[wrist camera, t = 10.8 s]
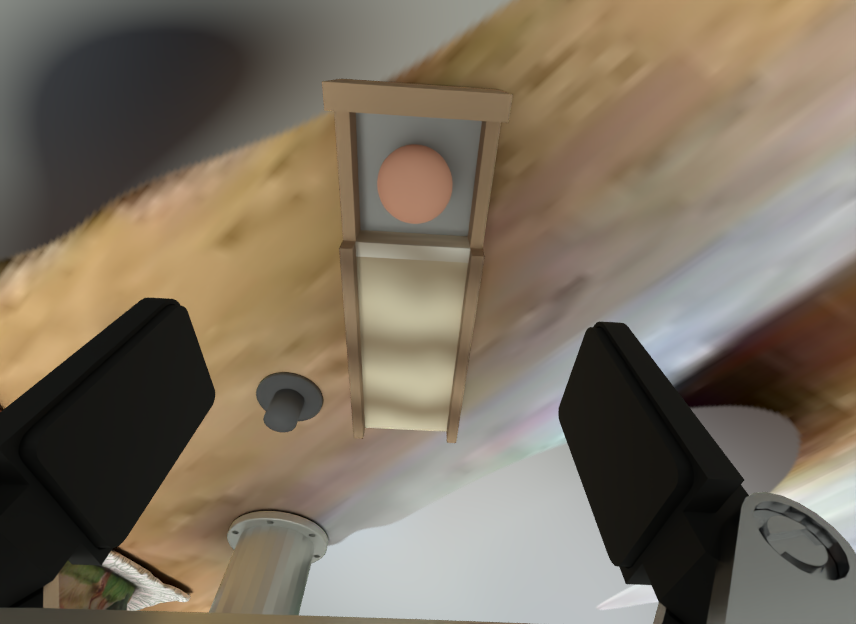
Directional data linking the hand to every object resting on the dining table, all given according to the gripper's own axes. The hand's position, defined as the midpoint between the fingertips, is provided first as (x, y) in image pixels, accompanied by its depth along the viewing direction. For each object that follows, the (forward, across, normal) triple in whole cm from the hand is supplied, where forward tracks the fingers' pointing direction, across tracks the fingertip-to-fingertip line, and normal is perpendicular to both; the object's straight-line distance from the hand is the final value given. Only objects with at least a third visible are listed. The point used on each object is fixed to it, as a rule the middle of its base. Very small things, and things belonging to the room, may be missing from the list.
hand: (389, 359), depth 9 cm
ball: (+18, 0, 0) cm, 18 cm away
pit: (+18, 0, 0) cm, 18 cm away
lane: (+18, 0, +13) cm, 22 cm away
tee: (+18, +11, +21) cm, 30 cm away
